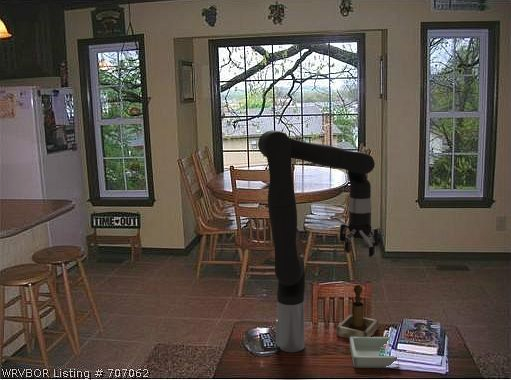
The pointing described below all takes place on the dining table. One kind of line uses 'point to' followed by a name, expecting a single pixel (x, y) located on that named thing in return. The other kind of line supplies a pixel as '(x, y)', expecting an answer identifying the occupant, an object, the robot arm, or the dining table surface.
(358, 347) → the tray
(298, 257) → the robot arm
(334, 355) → the dining table surface
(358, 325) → the brown pepper mill
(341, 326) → the beige square dish
